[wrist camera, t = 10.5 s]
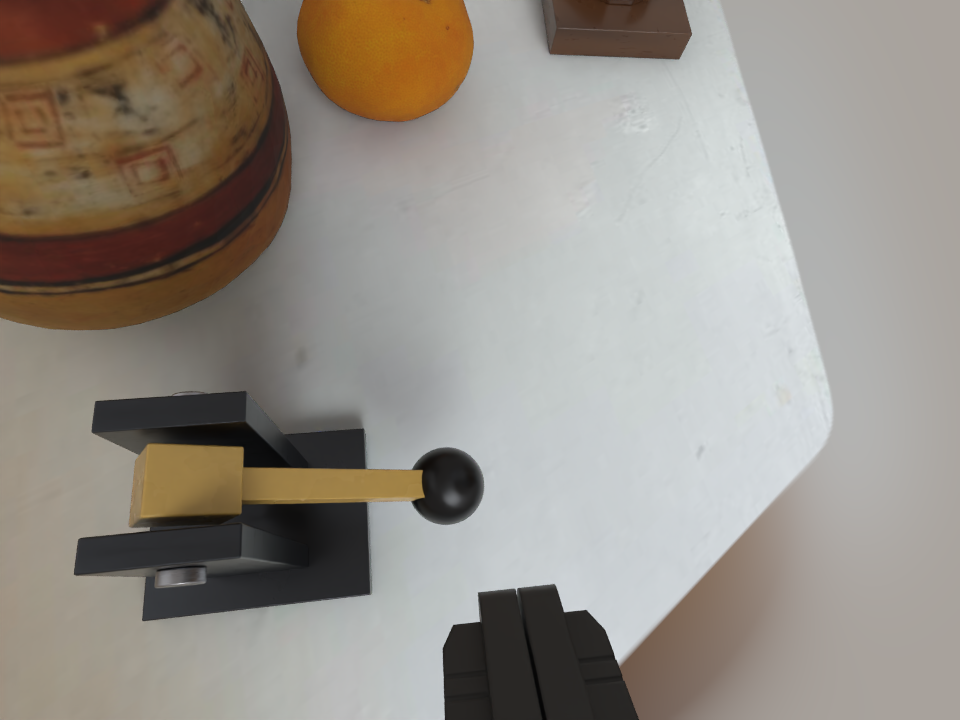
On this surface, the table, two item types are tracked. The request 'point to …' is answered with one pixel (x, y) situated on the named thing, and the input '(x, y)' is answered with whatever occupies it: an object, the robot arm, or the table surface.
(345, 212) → the table surface
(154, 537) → the tap bracket
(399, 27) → the fruit
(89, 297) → the ceramic pitcher
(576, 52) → the button block
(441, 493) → the tap lever
